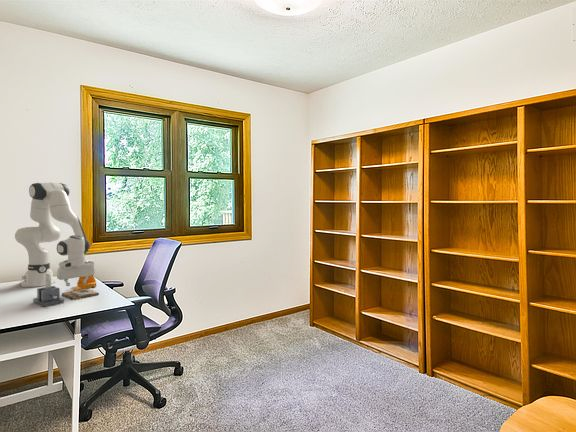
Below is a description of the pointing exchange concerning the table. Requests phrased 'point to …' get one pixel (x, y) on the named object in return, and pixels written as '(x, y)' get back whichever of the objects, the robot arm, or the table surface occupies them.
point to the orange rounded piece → (89, 282)
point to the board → (72, 296)
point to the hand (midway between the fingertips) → (76, 284)
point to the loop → (81, 291)
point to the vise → (48, 294)
